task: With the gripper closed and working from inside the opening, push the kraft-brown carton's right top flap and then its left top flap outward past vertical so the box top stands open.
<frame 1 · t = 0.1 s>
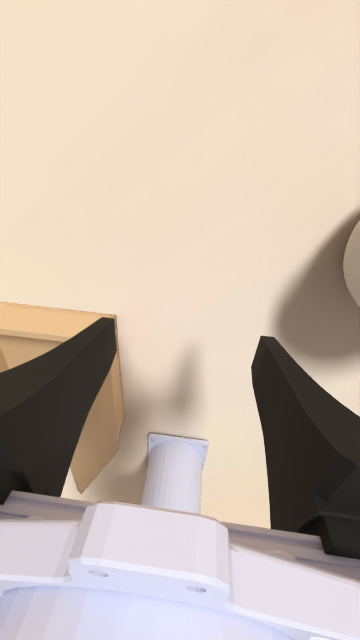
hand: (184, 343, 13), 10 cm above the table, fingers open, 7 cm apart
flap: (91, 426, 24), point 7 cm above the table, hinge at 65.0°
carton: (62, 367, 29), on the table
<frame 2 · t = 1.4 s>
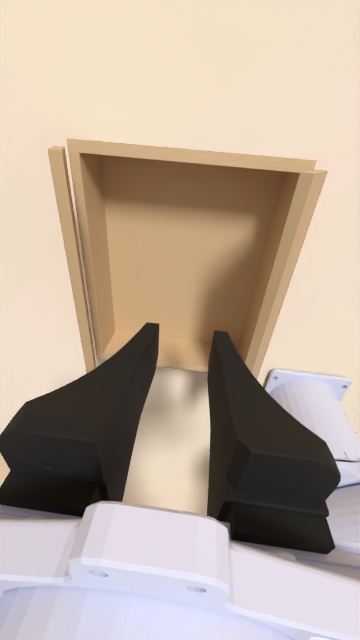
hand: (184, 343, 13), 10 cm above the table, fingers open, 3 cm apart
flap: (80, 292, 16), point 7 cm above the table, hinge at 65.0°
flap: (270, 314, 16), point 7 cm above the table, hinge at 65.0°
carton: (183, 264, 21), on the table
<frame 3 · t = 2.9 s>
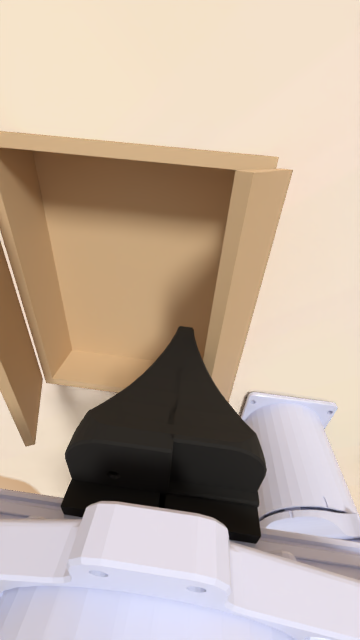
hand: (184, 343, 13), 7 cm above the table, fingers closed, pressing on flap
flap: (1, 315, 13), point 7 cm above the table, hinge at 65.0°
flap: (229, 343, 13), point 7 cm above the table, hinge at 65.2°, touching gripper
carton: (142, 277, 19), on the table
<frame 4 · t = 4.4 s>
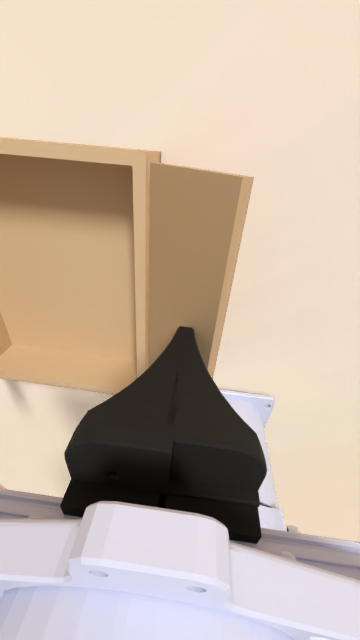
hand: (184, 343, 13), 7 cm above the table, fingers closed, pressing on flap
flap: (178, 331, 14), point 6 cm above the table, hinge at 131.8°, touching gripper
carton: (68, 271, 19), on the table
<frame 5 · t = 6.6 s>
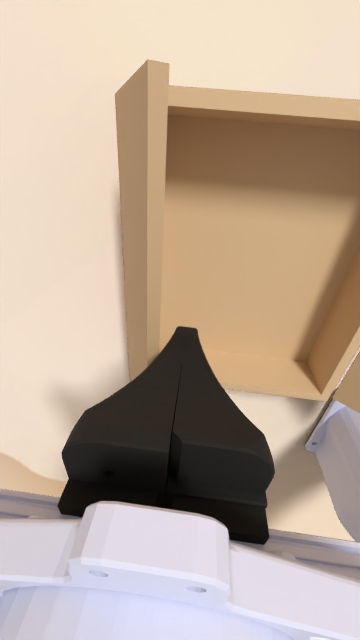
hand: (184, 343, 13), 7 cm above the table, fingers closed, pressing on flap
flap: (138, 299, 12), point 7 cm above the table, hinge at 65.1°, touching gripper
carton: (249, 262, 17), on the table
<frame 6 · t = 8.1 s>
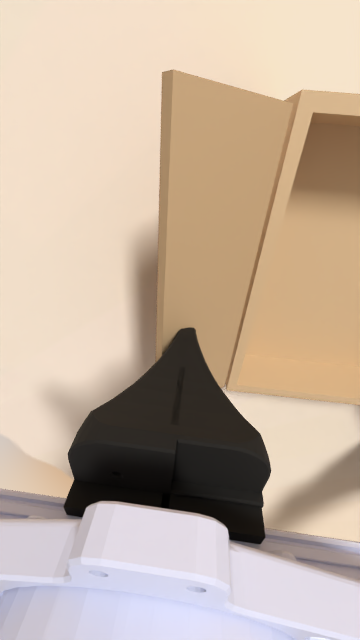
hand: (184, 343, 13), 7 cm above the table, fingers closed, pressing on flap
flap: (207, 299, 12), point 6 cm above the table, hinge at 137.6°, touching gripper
carton: (345, 271, 17), on the table
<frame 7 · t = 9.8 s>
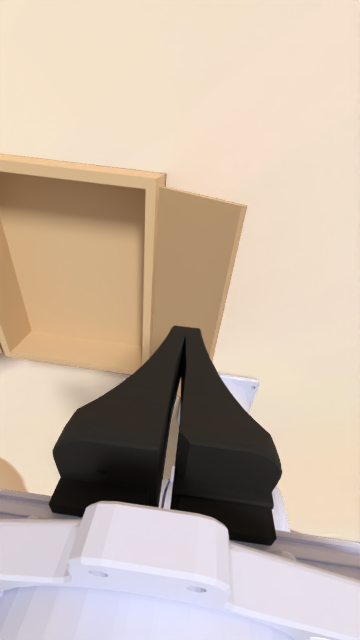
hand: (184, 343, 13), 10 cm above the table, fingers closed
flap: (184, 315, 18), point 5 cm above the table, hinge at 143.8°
carton: (84, 268, 23), on the table
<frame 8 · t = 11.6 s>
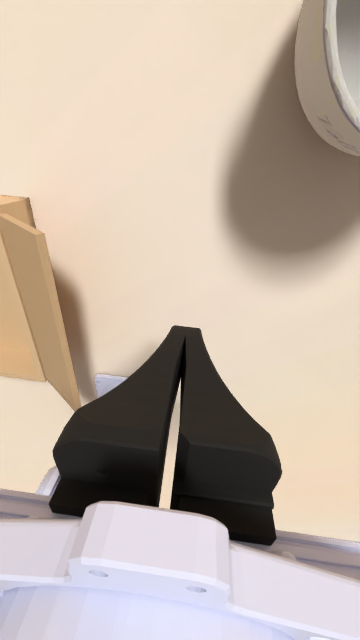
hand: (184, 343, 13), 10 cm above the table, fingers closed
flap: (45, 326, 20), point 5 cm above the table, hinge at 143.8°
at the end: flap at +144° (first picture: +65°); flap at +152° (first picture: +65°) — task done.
